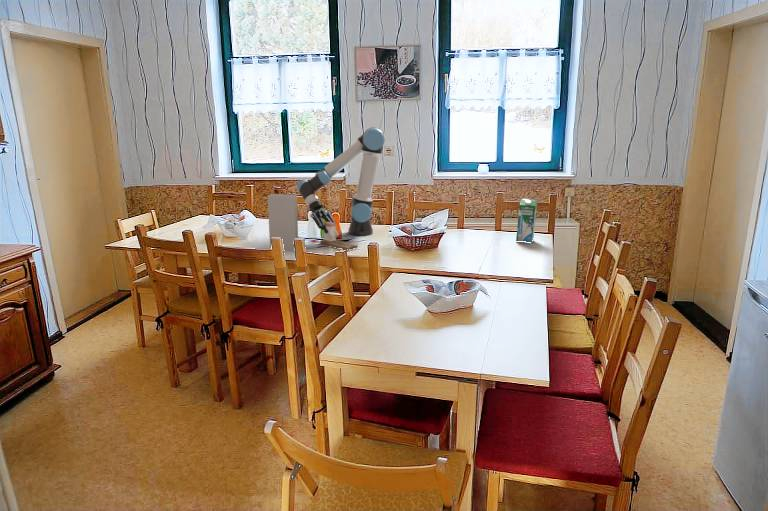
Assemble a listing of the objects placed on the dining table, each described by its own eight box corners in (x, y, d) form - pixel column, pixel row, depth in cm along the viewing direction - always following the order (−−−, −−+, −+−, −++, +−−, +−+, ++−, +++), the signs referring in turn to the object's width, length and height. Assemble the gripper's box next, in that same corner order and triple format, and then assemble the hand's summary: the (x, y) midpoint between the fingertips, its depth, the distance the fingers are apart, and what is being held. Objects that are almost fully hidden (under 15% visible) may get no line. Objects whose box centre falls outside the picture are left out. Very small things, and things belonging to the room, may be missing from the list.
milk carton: (515, 242, 302) (519, 200, 295) (518, 238, 310) (521, 198, 303) (531, 244, 299) (535, 201, 292) (533, 240, 307) (537, 199, 300)
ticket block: (330, 241, 296) (330, 238, 295) (357, 248, 282) (357, 244, 281) (320, 244, 290) (320, 240, 289) (347, 251, 276) (347, 247, 276)
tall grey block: (298, 249, 279) (296, 194, 270) (295, 251, 273) (294, 196, 265) (273, 248, 280) (270, 193, 272) (270, 250, 275) (267, 195, 266)
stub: (328, 238, 293) (328, 221, 291) (336, 240, 289) (335, 223, 287) (323, 239, 290) (323, 222, 288) (330, 241, 286) (330, 224, 284)
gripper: (322, 205, 301) (341, 237, 295) (299, 209, 289) (319, 243, 283) (328, 198, 296) (348, 230, 291) (305, 201, 284) (326, 235, 278)
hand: (334, 236), depth 287 cm, fingers closed on stub, 4 cm apart
